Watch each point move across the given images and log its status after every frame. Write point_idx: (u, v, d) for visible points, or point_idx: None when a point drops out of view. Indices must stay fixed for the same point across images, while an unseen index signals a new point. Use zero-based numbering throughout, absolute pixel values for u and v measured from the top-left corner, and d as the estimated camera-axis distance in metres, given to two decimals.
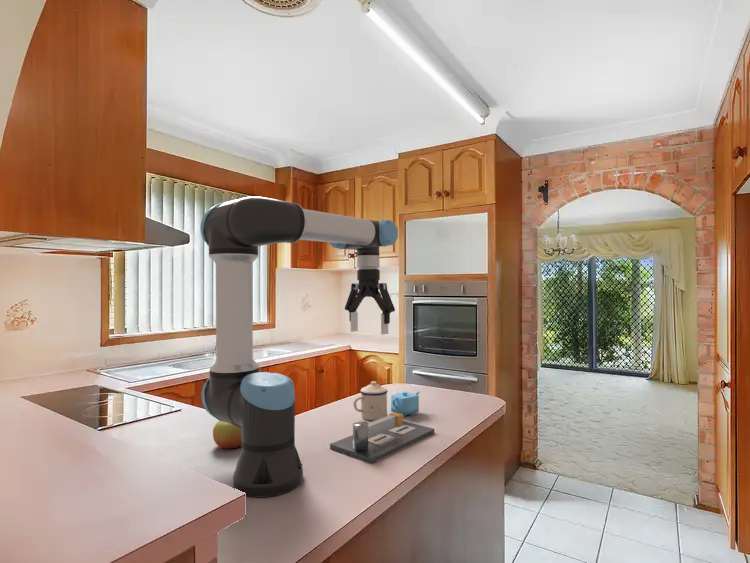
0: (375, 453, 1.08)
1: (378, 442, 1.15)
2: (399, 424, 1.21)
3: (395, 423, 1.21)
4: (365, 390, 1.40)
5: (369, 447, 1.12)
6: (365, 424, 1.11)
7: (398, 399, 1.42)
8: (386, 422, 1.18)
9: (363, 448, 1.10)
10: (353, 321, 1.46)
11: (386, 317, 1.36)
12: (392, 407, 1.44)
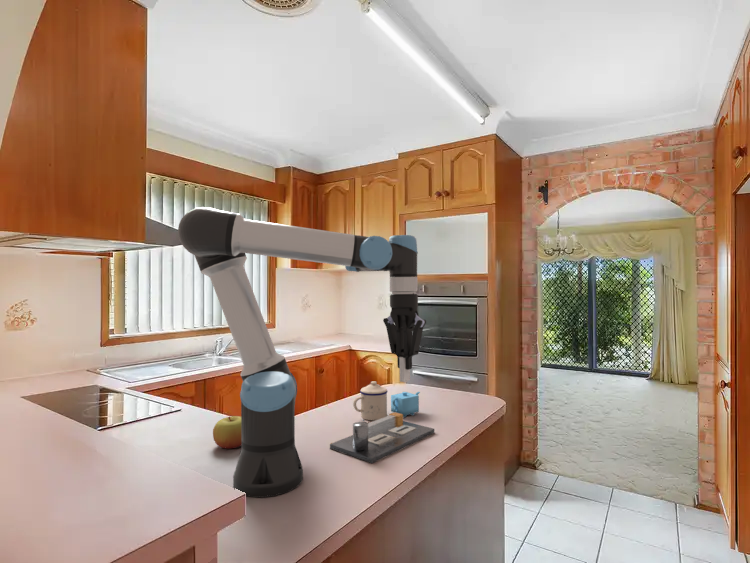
0: (375, 453, 1.08)
1: (378, 442, 1.15)
2: (399, 424, 1.21)
3: (395, 423, 1.21)
4: (365, 390, 1.40)
5: (369, 447, 1.12)
6: (365, 424, 1.11)
7: (398, 399, 1.42)
8: (386, 422, 1.18)
9: (363, 448, 1.10)
10: None
11: (408, 361, 1.13)
12: (392, 407, 1.44)
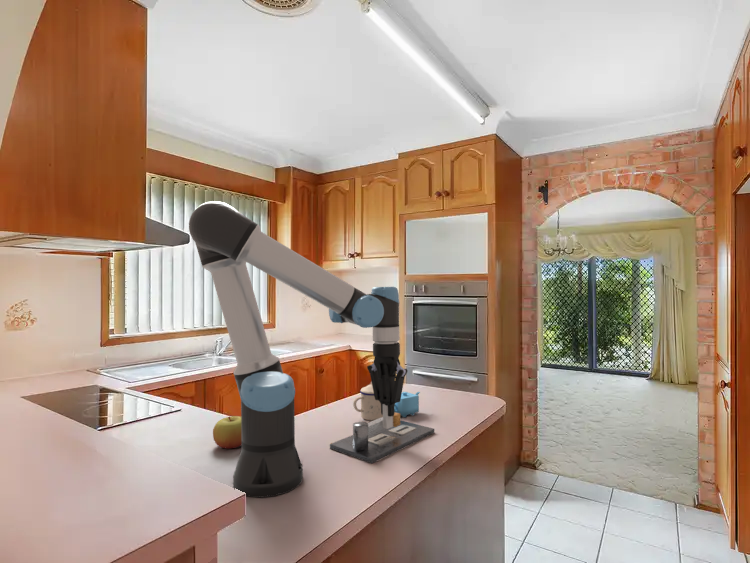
0: (375, 453, 1.08)
1: (378, 442, 1.15)
2: (397, 423, 1.22)
3: (393, 422, 1.22)
4: (365, 390, 1.40)
5: (369, 447, 1.12)
6: (365, 424, 1.11)
7: None
8: None
9: (363, 448, 1.10)
10: None
11: (390, 409, 1.17)
12: None
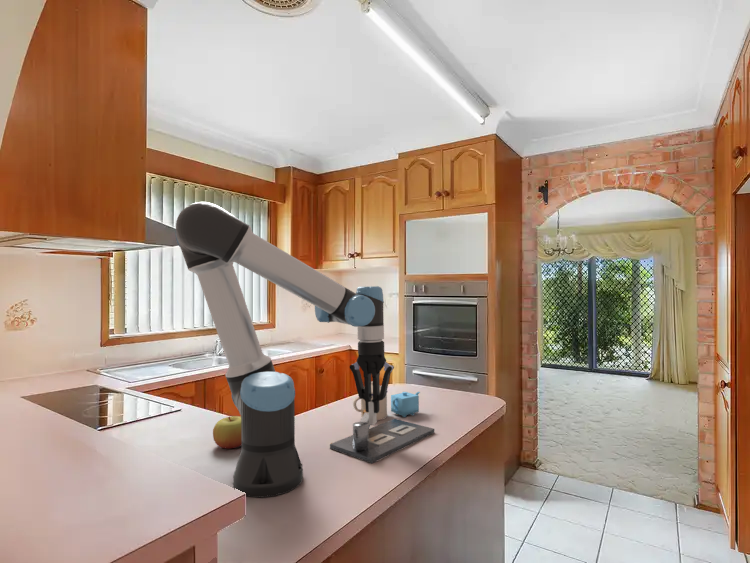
0: (375, 453, 1.08)
1: (378, 442, 1.15)
2: None
3: None
4: None
5: (369, 447, 1.12)
6: (365, 423, 1.12)
7: (398, 399, 1.42)
8: None
9: (366, 447, 1.10)
10: None
11: (376, 405, 1.20)
12: (392, 407, 1.44)
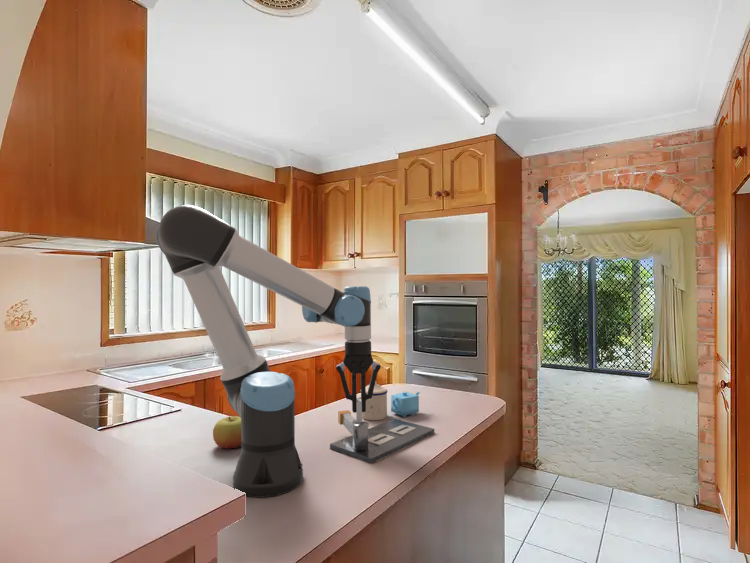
0: (375, 453, 1.08)
1: (378, 442, 1.15)
2: None
3: None
4: None
5: (369, 447, 1.12)
6: (363, 422, 1.13)
7: (398, 399, 1.42)
8: None
9: None
10: None
11: (364, 404, 1.21)
12: (392, 407, 1.44)
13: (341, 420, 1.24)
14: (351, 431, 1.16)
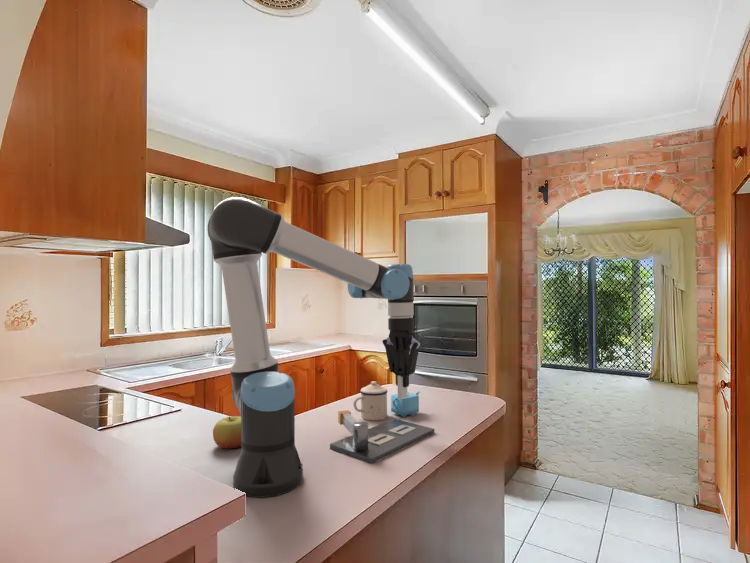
0: (375, 453, 1.08)
1: (378, 442, 1.15)
2: None
3: None
4: (365, 390, 1.40)
5: (369, 447, 1.12)
6: (363, 422, 1.13)
7: (398, 399, 1.42)
8: None
9: None
10: None
11: (405, 380, 1.23)
12: (392, 407, 1.44)
13: (341, 420, 1.24)
14: (351, 431, 1.16)
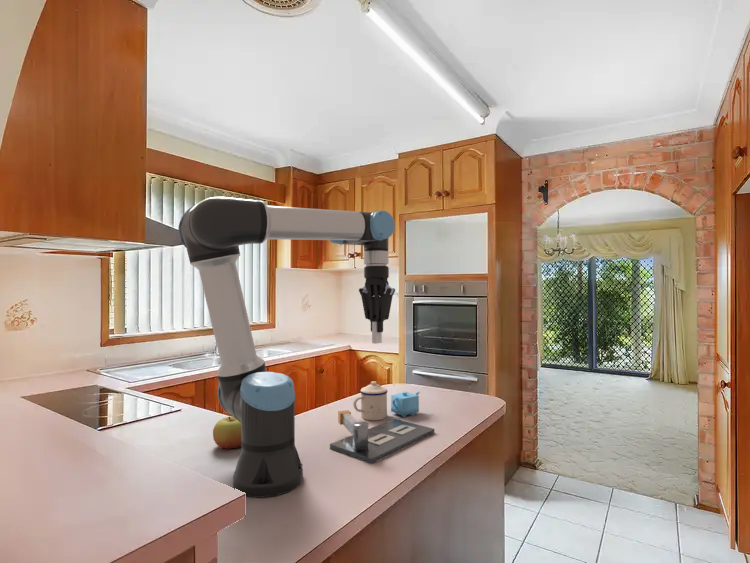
0: (375, 453, 1.08)
1: (378, 442, 1.15)
2: None
3: None
4: (365, 390, 1.40)
5: (369, 447, 1.12)
6: (363, 422, 1.13)
7: (398, 399, 1.42)
8: None
9: None
10: None
11: (379, 325, 1.29)
12: (392, 407, 1.44)
13: (341, 420, 1.24)
14: (351, 431, 1.16)
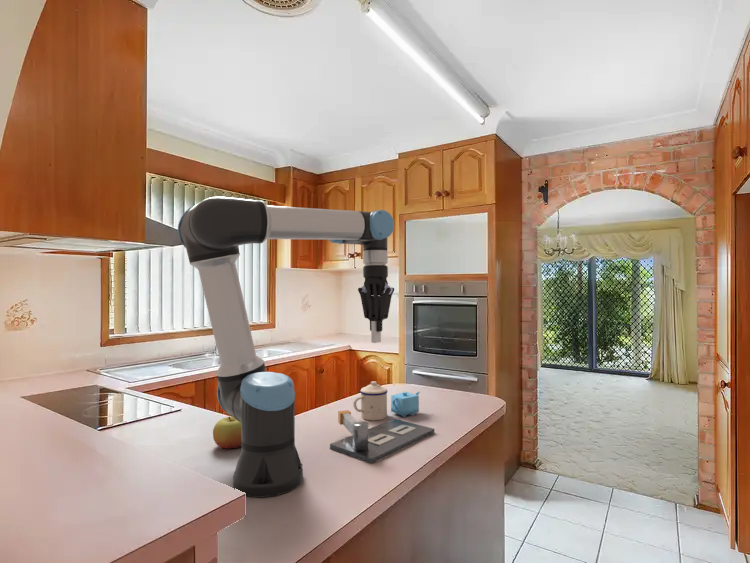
0: (375, 453, 1.08)
1: (378, 442, 1.15)
2: None
3: None
4: (365, 390, 1.40)
5: (369, 447, 1.12)
6: (363, 422, 1.13)
7: (398, 399, 1.42)
8: None
9: None
10: None
11: (378, 324, 1.29)
12: (392, 407, 1.44)
13: (341, 420, 1.24)
14: (351, 431, 1.16)
